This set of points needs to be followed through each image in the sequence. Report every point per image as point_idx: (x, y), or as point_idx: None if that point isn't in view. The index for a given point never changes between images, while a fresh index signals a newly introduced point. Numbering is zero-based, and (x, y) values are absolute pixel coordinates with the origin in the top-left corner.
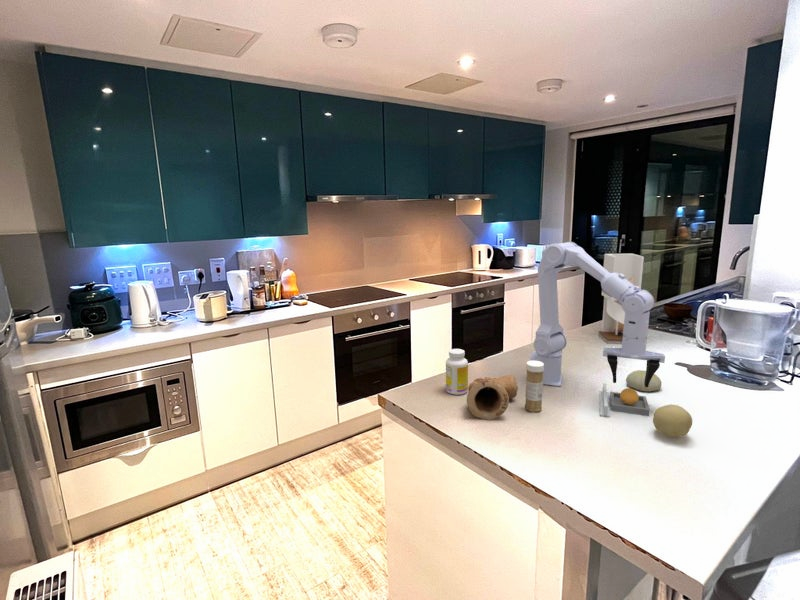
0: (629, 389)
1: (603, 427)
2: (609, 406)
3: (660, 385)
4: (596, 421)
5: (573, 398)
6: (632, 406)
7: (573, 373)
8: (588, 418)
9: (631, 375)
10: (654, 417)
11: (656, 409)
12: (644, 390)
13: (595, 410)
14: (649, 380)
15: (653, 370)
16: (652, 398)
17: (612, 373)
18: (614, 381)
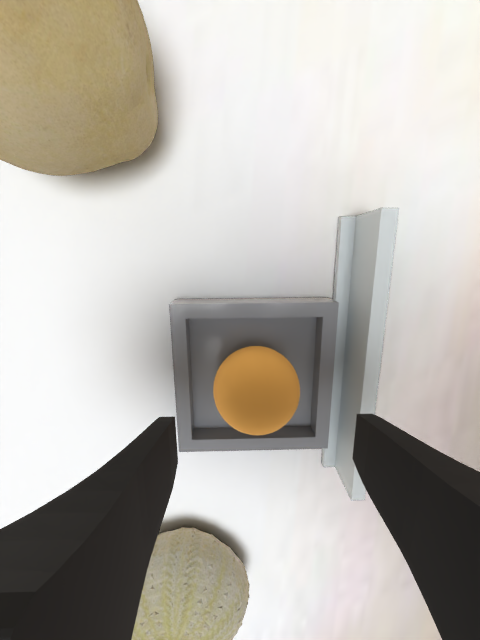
0: (263, 406)
1: (381, 89)
2: None
3: None
4: (405, 148)
5: (471, 364)
6: (243, 316)
7: None
8: (437, 169)
9: (230, 614)
10: (138, 10)
11: (109, 14)
12: (181, 528)
13: (394, 272)
14: (132, 443)
15: (33, 527)
16: None
17: (441, 454)
18: (374, 416)
